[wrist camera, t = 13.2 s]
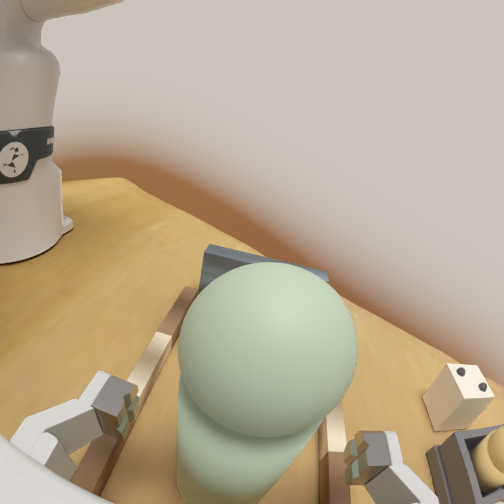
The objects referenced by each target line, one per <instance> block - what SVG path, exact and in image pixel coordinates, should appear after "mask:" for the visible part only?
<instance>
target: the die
mask: <svg viewBox="0 0 504 504" xmlns="http://www.w3.org/2000/svg"><path fill="white" fill-rule="evenodd" d="M494 397H495V396H494V395H493V393H492V391H491V389H490V387H489V385H488V384H487V382H486V380H485V378H484V377H483V375H482V373H481V371H480V370H479V368H478V367H477V366H476V365H462V364H449V363H447V364H446V365H445V366H444V368H443V369H442V371H441V372H440V374H439V375H438V376H437V378H436V379H435V381H434V382H433V383H432V385H431V386H430V387H429V389H428V390H427V391H426V392H425V394H424V395H423V396H422V398H423V400H424V403H425V406H426V409H427V411H428V414H429V417H430V420H431V423H432V426H433V429H434V432H436V431H448V430H458V429H466V428H467V427H468V426H469V425H470V424H471V423H472V422H473V421H474V420H475V419H476V418H477V417H478V416H479V415H480V413H481V412H482V411H483V410H484V409H485V408H486V407H487V406H488V404H489V403H490V402H491V401H492V400H493V398H494Z"/></svg>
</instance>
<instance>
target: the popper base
mask: <svg viewBox="0 0 504 504" xmlns="http://www.w3.org/2000/svg"><path fill="white" fill-rule="evenodd" d="M503 425H504V424H503ZM503 425H498V426H492V427H487V428H481V429H474V430H467V431H460V432H454V433H453V434H452V435H451V436H450V437H449V438H448V439H447V440H446V441H445V442H444V443H443V444H441V445H438V446H433V447H432V448H431V449H430V450H429V451H428V452H427V453H426V454H427V458H428V462H429V466H430V470H431V474H432V478H433V483H434V487H435V492H436V496H437V497H438V501H439V504H494V503H496V502H504V485H503V486H502V487H500V488H499V489H497V490H496V491H494V492H492V493H484V492H481V491H480V488H479V484H478V481H477V477H476V474H475V471H474V467H473V464H472V461H471V458H470V455H469V453H470V451H471V450H472V449H473V448H475V447H476V446H477V445H478V444H479V443H480V442H481V441H482V440H483V439H484V438H485V437H486V436H487V435H488V434H489V433H490V432H491V431H493V430H496V429H498V428H499V427H501V426H503Z"/></svg>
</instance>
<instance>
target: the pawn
mask: <svg viewBox="0 0 504 504" xmlns="http://www.w3.org/2000/svg"><path fill="white" fill-rule="evenodd" d="M357 356H358V341H357V333H356V329H355V325H354V322H353V319H352V317H351V314H350V312H349V310H348V308H347V306H346V305H345V303H344V302H343V300H342V299H341V297H340V296H339V295H338V293H337V292H336V291H335V290H334V289H333V288H332V287H331V286H330V285H329V284H327V283H326V282H325V281H324V280H322V279H321V278H320V277H318V276H316V275H315V274H313V273H311V272H309V271H307V270H305V269H302V268H300V267H297V266H294V265H290V264H285V263H275V262H260V263H254V264H249V265H244V266H241V267H238V268H235V269H233V270H230V271H228V272H226V273H225V274H223V275H221V276H220V277H218V278H216V279H215V280H214V281H212V282H211V283H210V284H209V285H208V286H207V287H205V288H204V289H203V290H202V291H201V293H200V294H199V295H198V296H197V297H196V299H195V300H194V301H193V303H192V304H191V306H190V308H189V310H188V311H187V313H186V316H185V318H184V321H183V323H182V326H181V330H180V335H179V341H178V360H179V366H180V371H181V375H180V380H179V397H178V419H177V461H176V481H177V488H178V491H179V493H180V495H181V497H182V499H183V500H184V501H185V502H186V503H187V504H257V503H258V502H259V501H260V499H261V498H262V497H263V496H264V495H265V494H266V493H267V492H268V491H269V489H270V488H271V487H272V486H273V485H274V484H275V483H276V481H277V480H278V479H279V478H280V477H281V476H282V474H283V473H284V472H285V471H286V470H287V468H288V467H289V466H290V465H291V463H292V462H293V461H294V460H295V458H296V457H297V456H298V454H299V453H300V452H301V451H302V449H303V448H304V447H305V445H306V444H307V443H308V441H309V440H310V439H311V437H312V436H313V434H314V433H315V432H316V430H317V429H318V427H319V426H320V424H321V423H322V421H323V419H324V417H325V416H326V415H328V414H329V413H330V412H331V411H332V410H333V409H334V408H335V407H336V406H337V404H338V403H339V402H340V401H341V399H342V398H343V397H344V395H345V393H346V391H347V390H348V388H349V386H350V384H351V382H352V379H353V375H354V372H355V369H356V365H357Z"/></svg>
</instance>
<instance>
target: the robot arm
mask: <svg viewBox="0 0 504 504" xmlns="http://www.w3.org/2000/svg"><path fill="white" fill-rule="evenodd" d="M122 1H124V0H0V263H9V262H15V261H19V260H23V259H27V258H30V257H32V256H35V255H37V254H40V253H42V252H44V251H46V250H47V249H49V248H50V247H52V246H53V245H54V244H55V243H56V242H57V241H58V240H59V238H60V237H61V236H62V235H63V234H64V233H66V232H68V231H69V230H71V229H72V228H73V221H72V219H70V218H68V217H67V216H65V215H64V214H63V204H62V174H61V170H60V169H59V168H58V167H57V166H56V165H55V164H54V163H53V161H52V160H51V158H50V155H51V154H52V152H53V142H54V127H53V126H51V125H52V118H53V110H54V104H55V97H56V91H57V86H58V80H59V76H60V66H59V63H58V60H57V58H56V57H55V56H54V55H53V53H51V52H50V51H49V50H47V49H46V48H44V47H43V46H41V30H42V26H43V24H44V22H45V21H46V20H48V19H53V18H58V17H63V16H69V15H74V14H82V13H87V12H90V11H93V10H97V9H100V8H103V7H107V6H110V5H114V4H117V3H120V2H122ZM138 391H139V390H138V385H135V384H133V383H130V382H128V381H125V380H123V379H120V378H118V377H115V376H113V375H111V374H108V373H106V372H104V371H101V370H100V371H99V372H97V373H96V374H95V376H94V377H93V379H92V380H91V382H90V383H89V385H88V386H87V387H86V389H85V390H84V392H83V393H82V395H81V396H80V398H79V399H78V400H77V399H72V400H70V401H67V402H65V403H62V404H60V405H57V406H55V407H52V408H50V409H47V410H44V411H42V412H39V413H36V414H34V415H31V416H28V417H26V418H25V420H24V421H23V423H22V424H21V425H20V427H19V428H18V430H17V431H16V432H15V434H14V435H13V437H12V438H11V440H10V441H9V440H7V439H6V438H5V437H4V436H2V435H1V434H0V504H115V503H112V502H110V501H108V500H106V499H103V498H101V497H99V496H97V495H95V494H93V493H91V492H89V491H87V490H85V489H83V488H81V487H79V486H77V485H76V484H74V483H72V482H70V479H71V477H72V475H73V473H74V471H75V469H76V466H75V464H74V463H73V461H72V460H71V458H70V457H69V456H68V455H69V454H71V453H72V452H74V451H76V450H78V449H79V448H81V447H83V446H85V445H86V444H88V443H90V442H92V441H93V440H95V439H97V438H98V437H100V436H102V435H103V433H104V434H106V435H109V436H111V437H114V438H116V439H119V440H121V441H124V440H125V438H126V436H127V434H128V432H129V430H130V425H129V422H131V421H133V420H135V418H136V415H137V413H138V410H139V405H140V399H139V397H138V396H137V393H138ZM343 460H344V463H345V464H346V465H347V466H348V467H347V468H346V469H345V471H344V475H345V485H364V487H365V488H366V490H367V491H368V493H369V494H370V496H371V497H372V499H373V500H374V502H375V503H376V504H439V501H438V497H437V496H436V495H435V494H434V493H433V492H432V491H431V490H430V489H429V488H428V487H427V486H426V485H425V484H424V483H423V482H422V481H421V479H420V478H419V477H418V476H417V475H416V474H415V473H414V472H413V471H412V470H411V469H410V468H409V467H408V466H407V465H403V460H402V455H401V451H400V446H399V442H398V438H397V434H396V433H395V432H394V431H358V432H357V433H356V434H355V439H353V440H351V441H349V442H348V444H347V445H346V447H345V449H344V454H343ZM494 504H504V502H496V503H494Z"/></svg>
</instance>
